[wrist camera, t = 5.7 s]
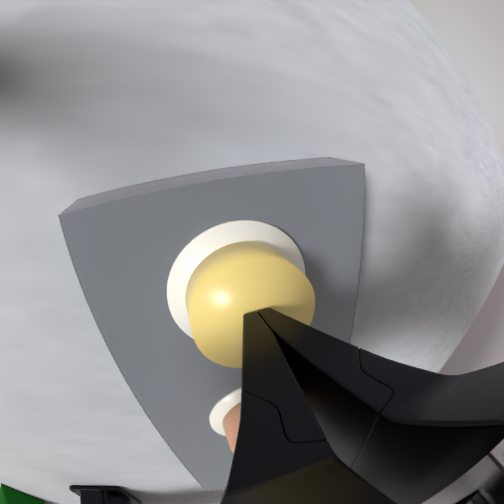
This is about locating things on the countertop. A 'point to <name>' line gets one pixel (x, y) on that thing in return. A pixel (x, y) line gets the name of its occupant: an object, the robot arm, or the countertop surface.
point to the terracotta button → (232, 425)
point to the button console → (184, 263)
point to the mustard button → (242, 296)
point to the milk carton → (16, 497)
